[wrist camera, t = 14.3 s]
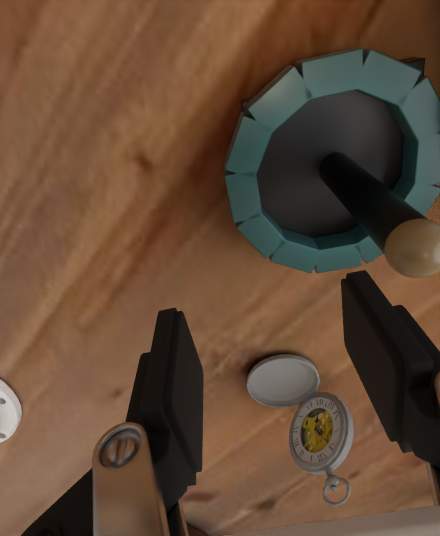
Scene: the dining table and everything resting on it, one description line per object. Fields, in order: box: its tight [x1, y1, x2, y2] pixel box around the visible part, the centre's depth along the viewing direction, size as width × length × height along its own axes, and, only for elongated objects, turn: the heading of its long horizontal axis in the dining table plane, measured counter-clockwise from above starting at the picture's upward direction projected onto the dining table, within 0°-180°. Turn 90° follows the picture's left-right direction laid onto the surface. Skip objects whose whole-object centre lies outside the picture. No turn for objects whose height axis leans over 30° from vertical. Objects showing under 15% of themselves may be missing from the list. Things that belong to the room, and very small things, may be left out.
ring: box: [224, 48, 440, 273], centre depth 21 cm, size 13×13×2 cm
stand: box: [241, 58, 440, 278], centre depth 18 cm, size 10×10×13 cm
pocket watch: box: [247, 354, 354, 506], centre depth 29 cm, size 8×8×10 cm
